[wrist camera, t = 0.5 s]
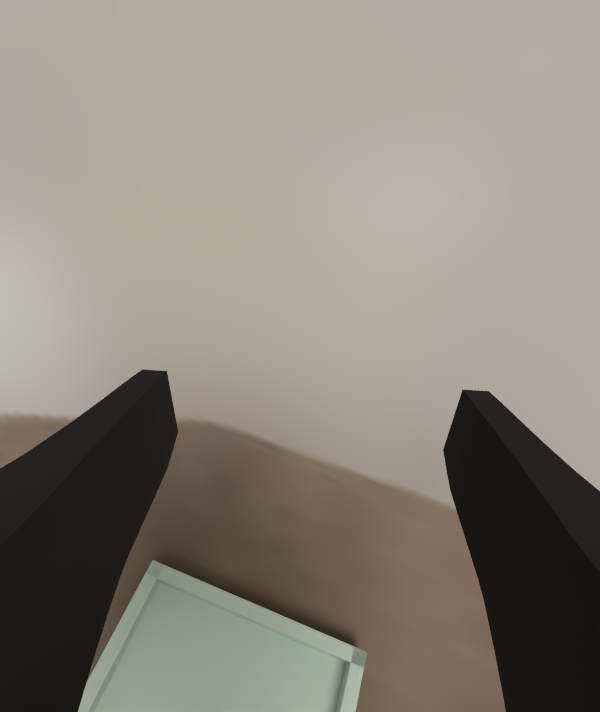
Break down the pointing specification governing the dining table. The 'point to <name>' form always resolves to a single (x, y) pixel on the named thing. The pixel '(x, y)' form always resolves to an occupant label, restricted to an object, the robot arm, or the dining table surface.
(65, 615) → the robot arm
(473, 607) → the dining table surface
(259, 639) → the tray
